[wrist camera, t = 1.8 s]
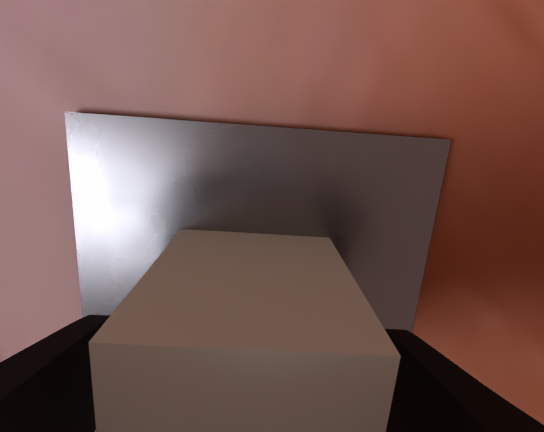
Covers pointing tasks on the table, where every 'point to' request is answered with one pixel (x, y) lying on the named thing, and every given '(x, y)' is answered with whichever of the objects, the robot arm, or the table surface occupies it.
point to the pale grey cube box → (244, 342)
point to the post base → (251, 199)
